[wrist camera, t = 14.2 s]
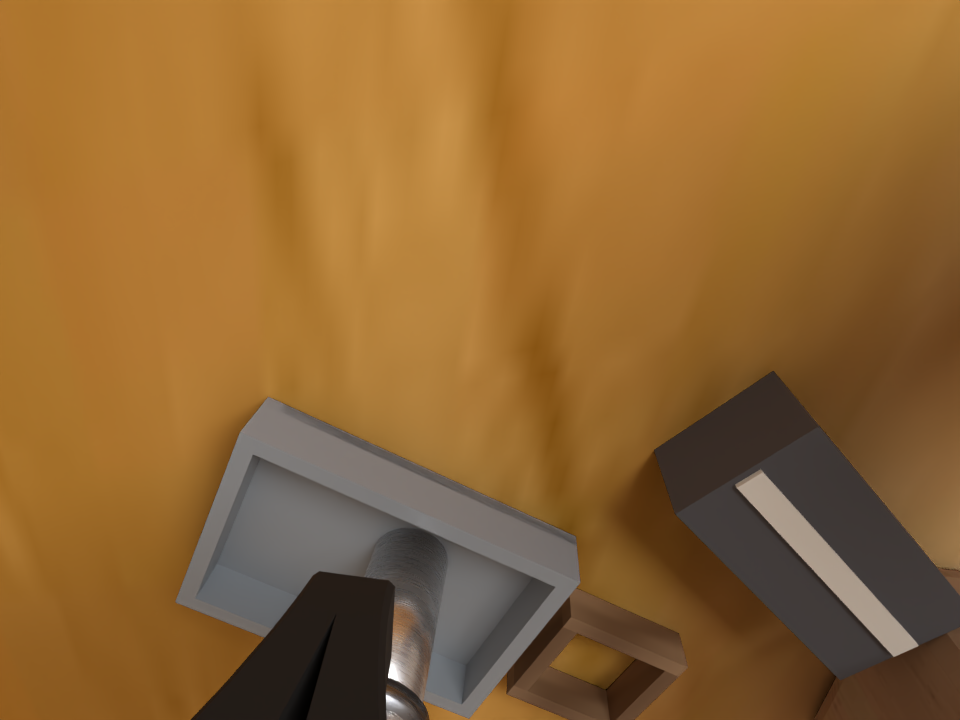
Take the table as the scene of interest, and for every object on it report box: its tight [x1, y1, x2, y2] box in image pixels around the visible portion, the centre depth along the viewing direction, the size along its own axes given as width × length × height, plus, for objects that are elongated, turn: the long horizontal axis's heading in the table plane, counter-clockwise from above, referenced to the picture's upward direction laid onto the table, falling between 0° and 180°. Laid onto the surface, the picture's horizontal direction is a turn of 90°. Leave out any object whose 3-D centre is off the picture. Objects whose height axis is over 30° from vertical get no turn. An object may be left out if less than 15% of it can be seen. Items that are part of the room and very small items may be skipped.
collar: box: [507, 588, 688, 720], centre depth 24 cm, size 5×5×2 cm
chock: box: [654, 371, 960, 680], centre depth 19 cm, size 9×4×4 cm, turn 43°
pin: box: [364, 528, 448, 720], centre depth 19 cm, size 3×3×7 cm
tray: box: [176, 397, 580, 718], centre depth 22 cm, size 12×8×2 cm
